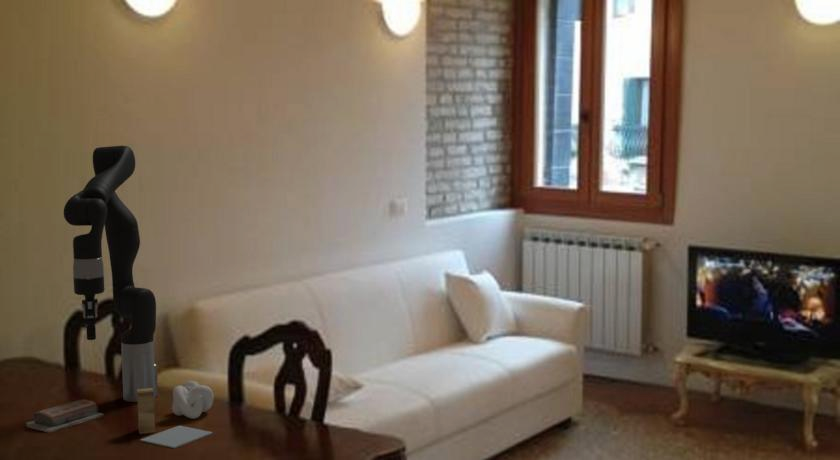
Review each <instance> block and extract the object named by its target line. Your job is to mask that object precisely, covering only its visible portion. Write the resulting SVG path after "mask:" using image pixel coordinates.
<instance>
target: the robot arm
mask: <svg viewBox="0 0 840 460" xmlns="http://www.w3.org/2000/svg"><path fill="white" fill-rule="evenodd" d="M92 168H93V172H94V176H93V177H92V178H91V179H90V180H89V181H88V182H87V183H86V185H85V186H84V188H83V189H82V190H81V191H79V192H77V193H75V194H73V196H71V197H70V198H69V199H68V200H67V201H66V202H65V205H64V207H63V217H64V220H65V221H66V223H67V224H69V225H71V226H75V227H77V226H79V227H82V226H83V227H84V226H85V227H86V226H87V227H88V226H91V229H90V231H89V232H87V233H84V234H80V235H76V236H74V237H73V240H72V249H73V250H72V252H73V253H72V254H73V262H72V263H73V264H72V275H73V276H72V277H73V292H74V294H75V295H79V296H83V297H84V299H81V307H82V308H81V309H82V314H83V318H84V320H85V321H84V325H85V327H86V341H87V340H88V341H95V340H96V339H97V332H96V330H97V329H96V326H97V320H96V318H98V307H99V301H98V298H95V297H96V295H99V294H103V293H104V292H105V274H104V273H105V272H104V270H105V269H104V262H103V250H102V249H103V248H102V245H103V244H102V239H103V233H104V231H105V237H106V238H105V239H106V242H107V243H106V244H107V247H108V253H109V254H108V255H109V262H110V271H111V280H112V281H111V282H112V283H111V285H112V302H113V307H114V310H115V312H116V313H117V315H118V316H120V317H122V318H125V319H131V325H130V326H131V327H129V329H127V330H124V331H123V332H121V333H120V341H121V343H120V344H121V369H122V370H121V371H122V372H121V373H122V394H123V396H122V397H123V399H122V400H124V401H125V402H130V403H131V402H133V403H138V401H137V389H148V388H153V391H154V399H155V398H156V397H158V396H159V389H158V384H159V383H158V366H157V364H156V363H155V347H154V346H155V344H154V335H155V332H156V327H157V321H156V320H157V301H156V300H157V299H156V297H155V294H154V292H153V291H152V290H150V288H144V287H135V282H134V274H133V267H134V263H135V260H136V258H137V255H138V252H139V249H140V246H141V239H140V238H141V237H140V231H139V224H138V221H137V219H136V217H135V215H134V214H133V213H132V211H131V210H130V209H129V208H128V206H126V204H125V203H124V202H123V201H122V199H120V197H119V195H118V194H117V192H116V190H117V189H118V188H119V187H120V186H122V185H123V184H124V183H125V182H126V181H127V180H128V179H129V178H130V177H132V175H133V174H134V172H135V169H136V157H135V154H134V150H133V149H132V148H131V147H129V146H127V145H113V146H111V145H109V146H100V147H96V148H94V149H93V152H92Z"/></svg>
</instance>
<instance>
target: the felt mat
mask: <svg viewBox="0 0 840 460" xmlns="http://www.w3.org/2000/svg"><path fill="white" fill-rule="evenodd" d="M211 435H214V433H213V431H208V430H204V429H199V428H193V427H187V426H184V425H178V426H174V427H171V428H169V429H165V430H163V431H160V432H157V433H155V434H154V433H153V434H152V435H149V436H146V437H143V438H141V439H140V440H139V441H140V442H143V443H148V444H154V445H156V446H157V445H158V446H160V447H161V446H162V447H167V448H170V449H176V448H179V447H182V446H184V445H188V444H190V443H192V442H195V441H198V440H200V439H203V438H205V437H209V436H211Z"/></svg>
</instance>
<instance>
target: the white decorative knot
mask: <svg viewBox="0 0 840 460" xmlns="http://www.w3.org/2000/svg"><path fill="white" fill-rule="evenodd" d="M172 398H173V401H172V407H171V408H172V413H174V414H175V416H178V417H180V416H184V417H186V418H188V419H191V420H195V419H198V418H200V416H201V414H202V413H205V412H206V411H208V410H209V409H210V408H211V407H212V406H213V403H214V399H215V395H214V392H213V390H212V389H211V388H210V387H209V386H208V385H205V384H204V385H203V384H199V383H198V382H197V381H195V380H188V381H186V382H184V383H183V384H182V385H176V386H175V387H174V388H173V390H172Z"/></svg>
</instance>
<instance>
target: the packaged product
mask: <svg viewBox="0 0 840 460" xmlns="http://www.w3.org/2000/svg"><path fill="white" fill-rule="evenodd" d="M98 411H99V407H98V406H97V403H96V402H95V400H89V399H84V398H83V399H77V400H75V401H70V402H66V403H64V404H60V405H56V406H53V407H49V408H45V409H42V410H38V411H37V412H34V415H33V416H34V420H31V421H27V422H25V424H26V428H29V429H33V430H36V431H40V432H45V433H53V432H56V431H59V430H62V429H66V428H69V426H70V427H72V425H73V426H76V425H79V424H83V423H85V422H88V421H92V420H94V419H99V418H102V417H103V416H104V413H101V412H98Z"/></svg>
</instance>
